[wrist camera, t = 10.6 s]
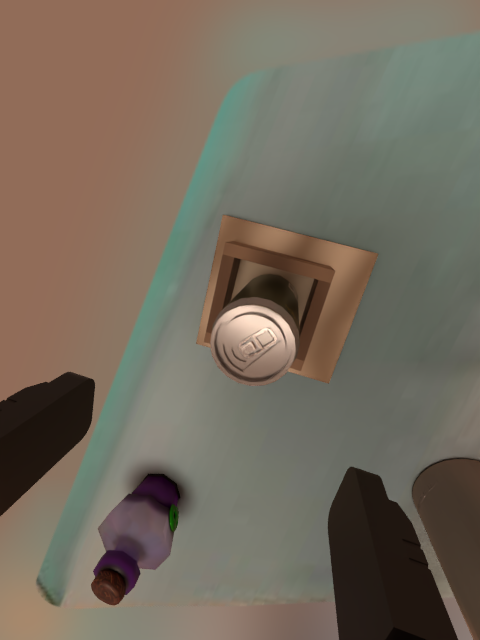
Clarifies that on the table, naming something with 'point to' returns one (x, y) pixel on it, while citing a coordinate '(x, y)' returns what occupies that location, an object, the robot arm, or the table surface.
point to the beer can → (258, 332)
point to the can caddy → (303, 274)
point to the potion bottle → (136, 537)
